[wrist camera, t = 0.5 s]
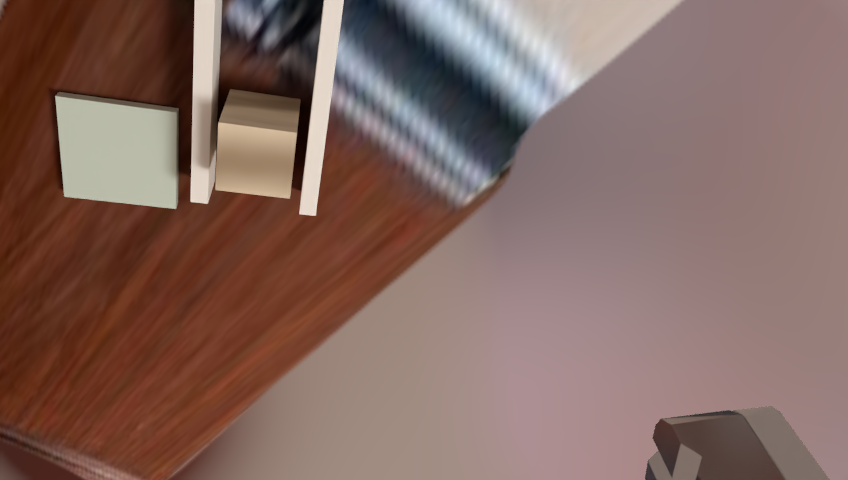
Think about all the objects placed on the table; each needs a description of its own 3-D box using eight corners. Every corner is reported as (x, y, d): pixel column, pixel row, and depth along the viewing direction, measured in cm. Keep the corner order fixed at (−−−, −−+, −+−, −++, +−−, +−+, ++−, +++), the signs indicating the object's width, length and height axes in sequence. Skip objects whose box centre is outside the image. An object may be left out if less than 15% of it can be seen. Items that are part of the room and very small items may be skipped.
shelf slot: (205, -82, 43) (196, -73, 40) (348, -55, 45) (349, -44, 42) (198, 178, 53) (190, 201, 50) (316, 193, 55) (315, 215, 52)
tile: (59, 91, 48) (55, 95, 47) (178, 108, 50) (176, 112, 49) (67, 191, 52) (64, 196, 52) (177, 203, 54) (176, 208, 53)
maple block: (230, 88, 49) (218, 122, 44) (300, 98, 50) (296, 132, 45) (227, 151, 52) (215, 189, 47) (294, 160, 53) (289, 198, 48)
